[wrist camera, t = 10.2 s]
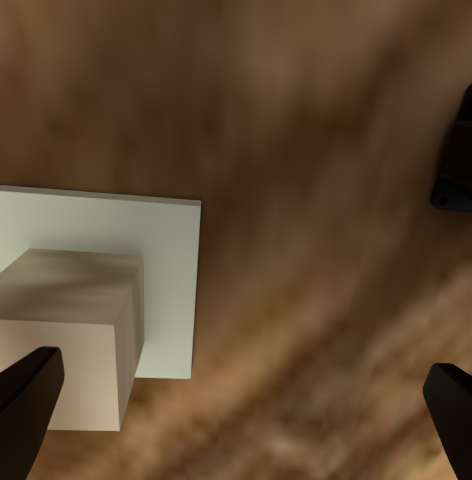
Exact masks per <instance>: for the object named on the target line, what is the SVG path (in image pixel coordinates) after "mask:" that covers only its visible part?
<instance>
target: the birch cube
mask: <svg viewBox="0 0 472 480" xmlns="http://www.w3.org/2000/svg"><path fill="white" fill-rule="evenodd" d="M143 345H144V256H141V255H126V254H111V253H95V252H80V251H64V250H49V249H34V248H29V249H28V250H26V251H25V252H24V253H23V254H22V255H21V256H19V257H18V258H17V259H16V260H15V261H14V262H13V263H11V264H10V265H9V266H8V267H7V268H6V269H4V270H3V271H2V272H1V273H0V372H2V371H3V370H5V369H6V368H8V367H9V366H11V365H12V364H14V363H15V362H17V361H18V360H20V359H21V358H23V357H24V356H26V355H28V354H29V353H31V352H32V351H34V350H35V349H37V348H38V347H41V346H56V347H59V348H60V349H61V352H62V357H63V364H64V371H65V379H64V383H63V386H62V389H61V392H60V395H59V398H58V400H57V403H56V406H55V409H54V411H53V414H52V417H51V420H50V423H49V425H48V428H47V430H96V431H120V428H121V424H122V420H123V417H124V413H125V410H126V406H127V403H128V399H129V395H130V392H131V388H132V385H133V381H134V378H135V374H136V370H137V367H138V363H139V360H140V356H141V353H142V349H143Z"/></svg>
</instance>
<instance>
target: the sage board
mask: <svg viewBox="0 0 472 480" xmlns="http://www.w3.org/2000/svg"><path fill="white" fill-rule="evenodd" d="M200 215H201V201H200V200H188V199H175V198H162V197H149V196H136V195H123V194H110V193H97V192H85V191H72V190H59V189H46V188H33V187H20V186H7V185H0V273H1V272H2V271H3V270H4V269H6V268H7V267H8V266H9V265H10V264H11V263H13V262H14V261H15V260H16V259H17V258H18V257H19V256H21V255H22V254H23V253H24V252H25V251H26V250H28V249H29V248H34V249H49V250H64V251H80V252H95V253H111V254H126V255H141V256H144V345H143V349H142V353H141V356H140V360H139V363H138V367H137V370H136V374H135V377H145V378H177V379H190V378H191V365H192V349H193V332H194V315H195V298H196V282H197V265H198V248H199V231H200Z"/></svg>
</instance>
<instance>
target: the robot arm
mask: <svg viewBox="0 0 472 480" xmlns="http://www.w3.org/2000/svg"><path fill="white" fill-rule="evenodd" d="M442 197H444V199H443V201H442V202H440V203H439V200H440V198H442ZM430 202H431V204H432V205H433V206H434V207H436V208H437V209H441V210H453V211H466V212H472V85H471V86H470V87H469V89H468V91H467V93H466V96H465V99H464V102H463V105H462V108H461V111H460V114H459V117H458V120H457V123H456V125H455V126H454V128H453V131H452V134H451V137H450V140H449V143H448V146H447V149H446V152H445V155H444V158H443V161H442V164H441V167H440V170H439V176H438V179H437V181H436V184H435V187H434V190H433V193H432V196H431V201H430ZM64 379H65V371H64V364H63V357H62V352H61V349H60V348H59V347H56V346H41V347H38V348H37V349H35V350H34V351H32V352H31V353H29V354H28V355H26V356H24V357H23V358H21V359H20V360H18V361H17V362H15V363H14V364H12V365H11V366H9V367H8V368H6V369H5V370H3V371H2V372H0V480H26V478H27V476H28V474H29V472H30V470H31V468H32V466H33V463H34V461H35V459H36V457H37V454H38V452H39V450H40V447H41V445H42V442H43V439H44V437H45V434H46V431H47V428H48V425H49V423H50V420H51V417H52V414H53V411H54V409H55V406H56V403H57V400H58V398H59V395H60V392H61V389H62V386H63V383H64ZM423 396H424V399H425V401H426V404H427V406H428V409H429V412H430V414H431V417H432V419H433V422H434V424H435V427H436V430H437V432H438V435H439V437H440V440H441V442H442V445H443V448H444V450H445V453H446V455H447V457H448V460H449V462H450V464H451V466H452V468H453V470H454V473H455V475H456V477H457V479H458V480H472V376H471V375H469V374H468V373H466V372H465V371H463V370H461V369H460V368H458V367H457V366H455V365H453V364H450V363H435V364H433V365H432V367H431V369H430V371H429V374H428V376H427V378H426V381H425V383H424V386H423Z"/></svg>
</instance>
